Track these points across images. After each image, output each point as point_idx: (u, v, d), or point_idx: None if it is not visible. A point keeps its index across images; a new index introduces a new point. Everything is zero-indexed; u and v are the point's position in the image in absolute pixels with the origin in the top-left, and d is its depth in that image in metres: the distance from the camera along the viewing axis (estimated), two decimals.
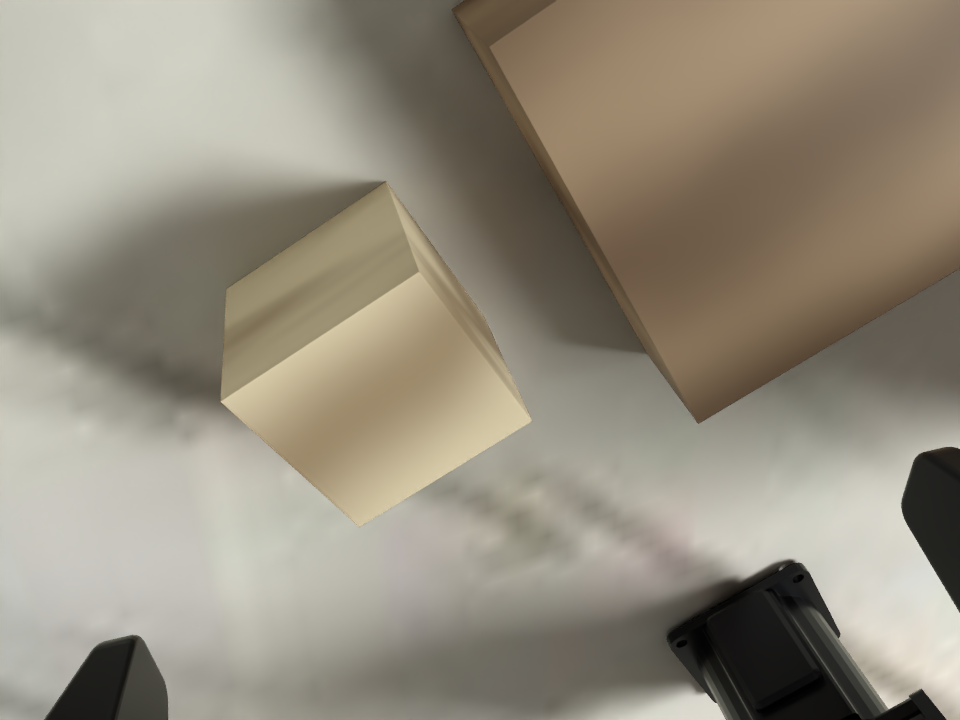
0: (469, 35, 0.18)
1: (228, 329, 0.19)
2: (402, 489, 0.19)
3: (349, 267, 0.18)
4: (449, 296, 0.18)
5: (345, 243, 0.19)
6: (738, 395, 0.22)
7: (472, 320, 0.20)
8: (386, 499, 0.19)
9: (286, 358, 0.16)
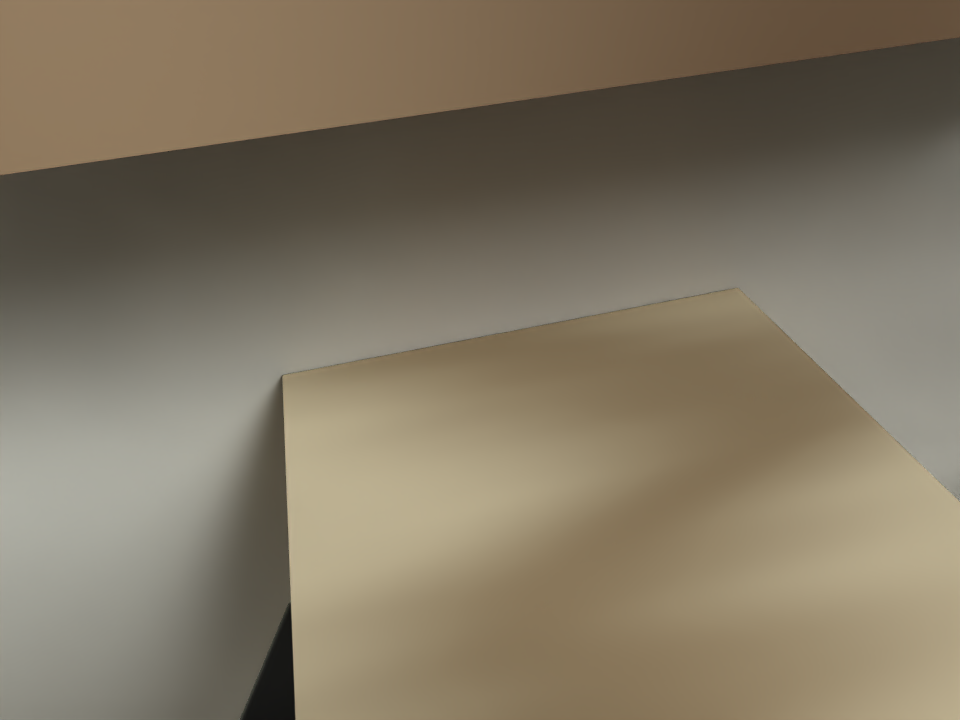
0: None
1: None
2: None
3: None
4: (550, 608, 0.06)
5: None
6: None
7: (690, 492, 0.06)
8: None
9: None
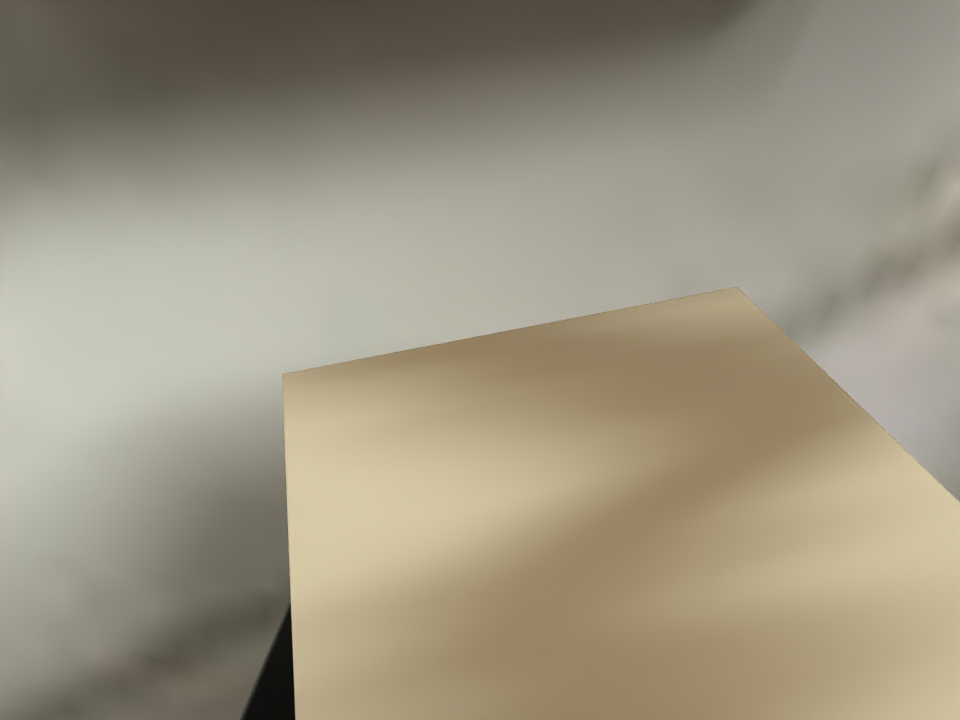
0: None
1: None
2: None
3: None
4: (549, 605, 0.06)
5: None
6: None
7: (688, 490, 0.06)
8: None
9: None
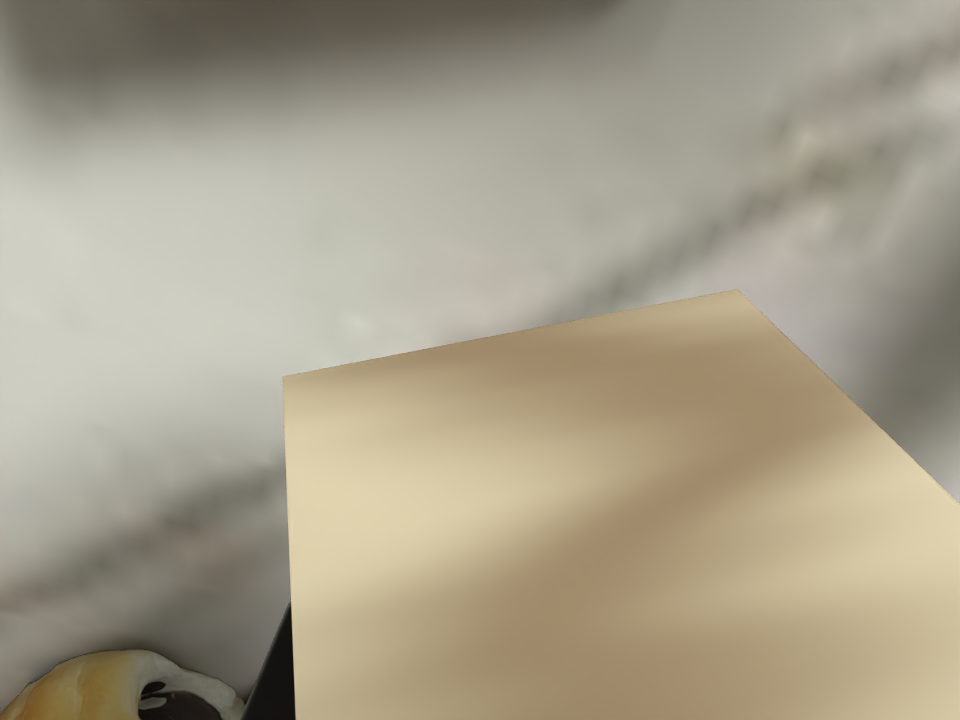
0: None
1: None
2: None
3: None
4: (549, 609, 0.06)
5: None
6: None
7: (689, 494, 0.06)
8: None
9: None
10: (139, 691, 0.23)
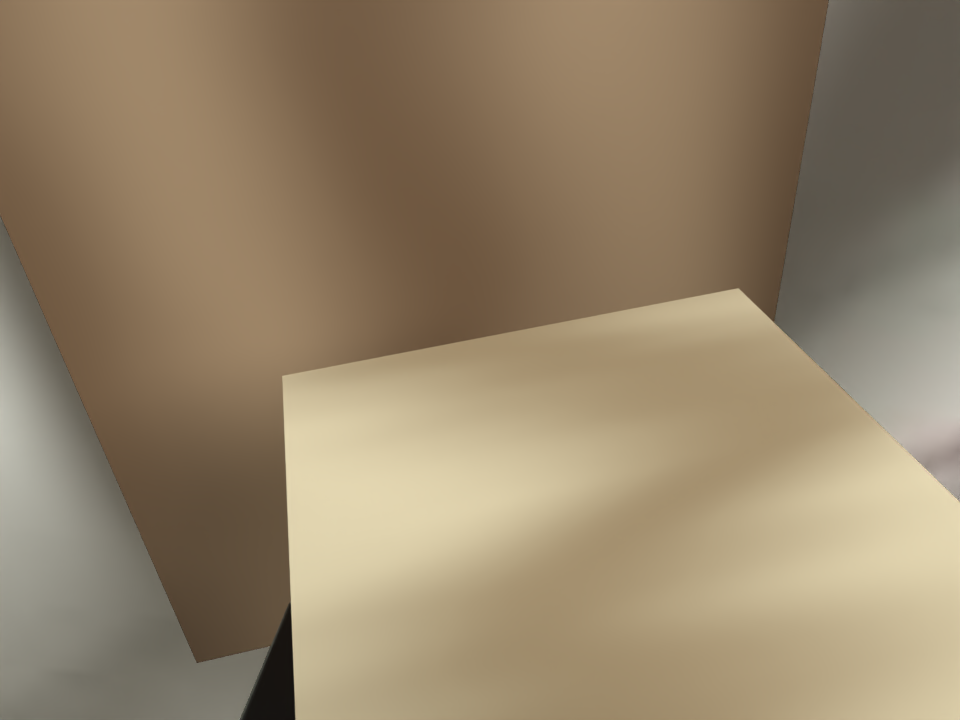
0: None
1: None
2: None
3: None
4: (550, 609, 0.06)
5: None
6: None
7: (690, 493, 0.06)
8: None
9: None
10: None
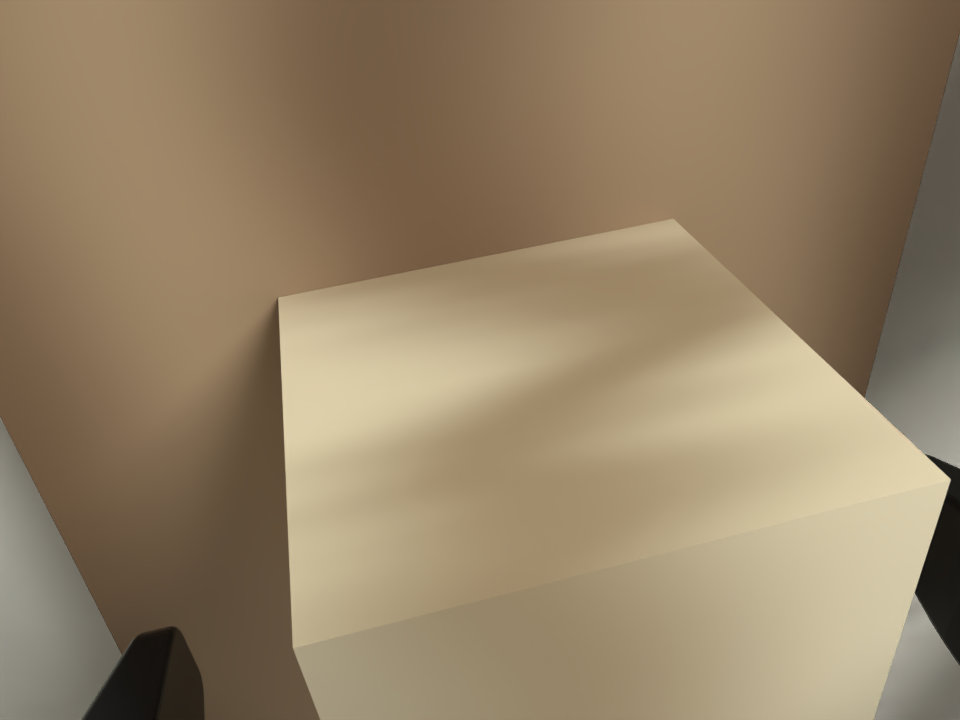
0: None
1: None
2: None
3: None
4: (492, 451, 0.07)
5: None
6: None
7: (613, 369, 0.08)
8: None
9: None
10: None
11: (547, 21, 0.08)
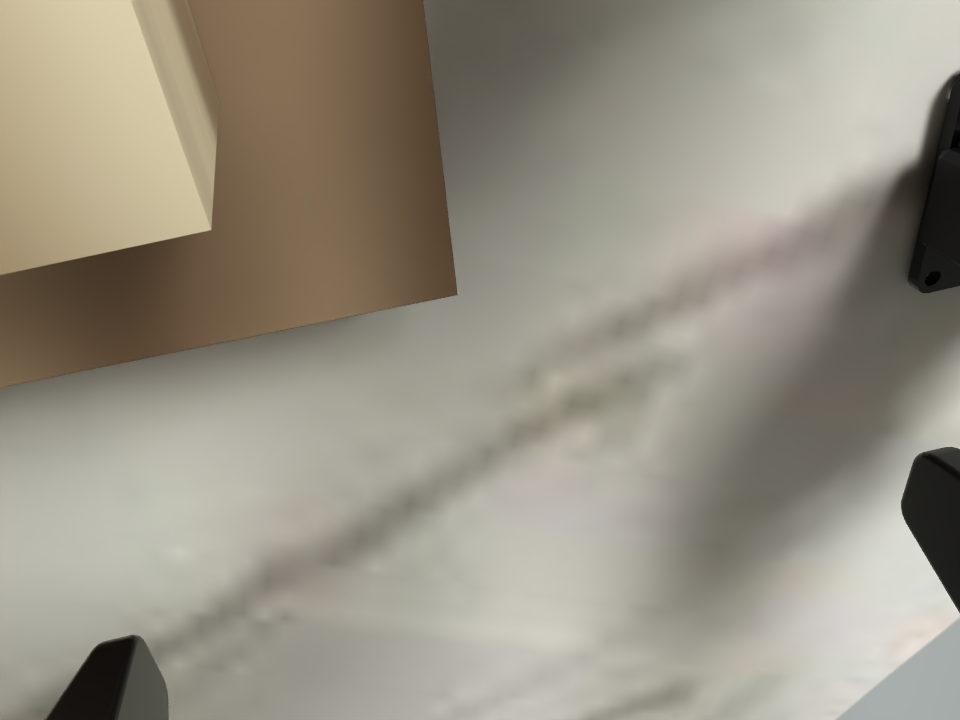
0: None
1: None
2: (136, 107, 0.08)
3: None
4: None
5: None
6: (443, 236, 0.16)
7: None
8: (154, 149, 0.08)
9: None
10: None
11: None
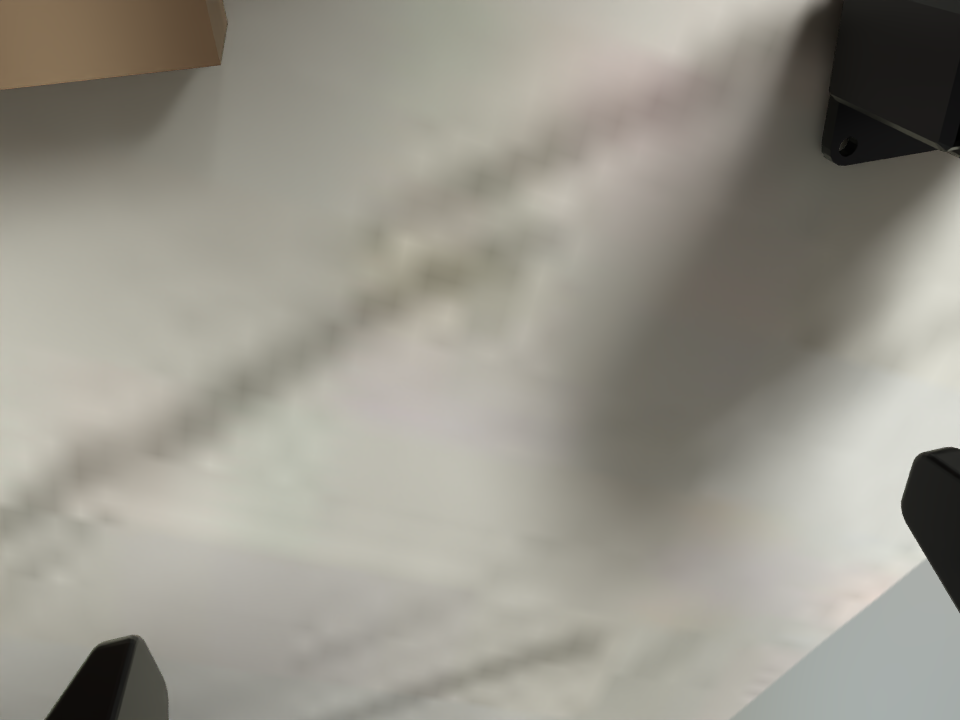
0: None
1: None
2: None
3: None
4: None
5: None
6: None
7: None
8: None
9: None
10: None
11: None
